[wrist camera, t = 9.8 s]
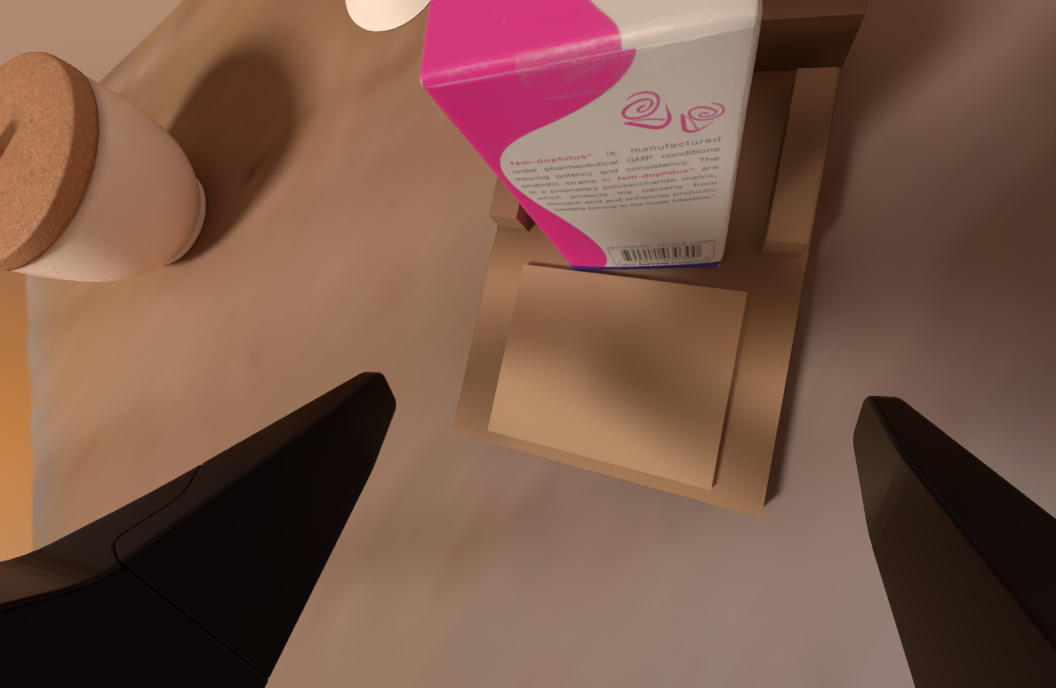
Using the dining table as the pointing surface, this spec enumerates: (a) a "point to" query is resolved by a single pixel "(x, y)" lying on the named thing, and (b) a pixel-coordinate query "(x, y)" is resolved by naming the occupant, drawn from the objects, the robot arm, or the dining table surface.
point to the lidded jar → (88, 179)
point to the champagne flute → (383, 12)
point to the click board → (671, 306)
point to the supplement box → (604, 117)
